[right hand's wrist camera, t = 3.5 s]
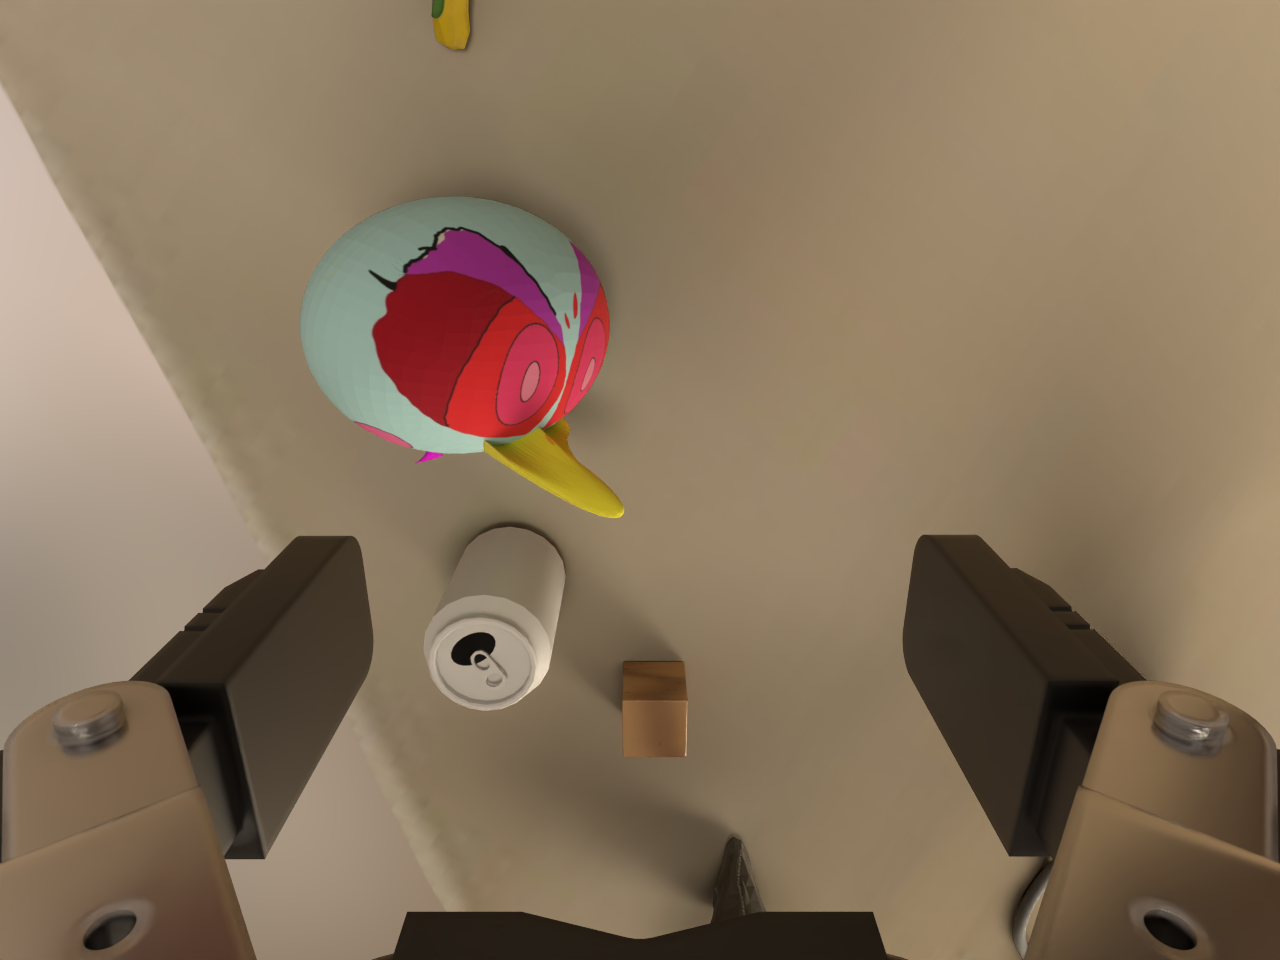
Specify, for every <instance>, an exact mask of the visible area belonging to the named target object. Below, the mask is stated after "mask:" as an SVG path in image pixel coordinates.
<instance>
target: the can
mask: <svg viewBox="0 0 1280 960" xmlns="http://www.w3.org/2000/svg"><path fill="white" fill-rule="evenodd" d="M565 579H566V575H565V570H564V564H563V561H562V559H561V558H560V556H559V554H558V552H557V551H556V549H555V548H554V547H553V546H552V545H551V544H550V543H549V542H548V541H547V540H546V539H545V538H543V537H542V536H540V535H538V534H536V533H534V532H532V531H529V530H527V529H521V528H515V527H504V528H496V529H492V530H490V531H487V532H485V533H483V534H481V535H479V536H478V537H476V538H475V539H474V540H473V541H472V542H471V543H470V544H469V545H468V546H467V547H466V549H465V551H464V553H463V555H462V557H461V559H460V561H459V563H458V565H457V567H456V570H455V572H454V574H453V576H452V578H451V580H450V582H449V584H448V586H447V588H446V590H445V592H444V595H443V597H442V599H441V601H440V603H439V605H438V607H437V609H436V611H435V613H434V615H433V617H432V619H431V622H430V624H429V626H428V628H427V630H426V632H425V639H424V649H423V650H424V653H425V657H426V661H427V664H428V667H429V670H430V674H431V677H432V679H433V681H434V682H435V684H436V685H437V687H438V688H439V690H440V691H441V692H442V693H443V694H445V695H446V696H447V697H448V698H450V699H451V700H452V701H453V702H456V703H458V704H460V705H463V706H465V707H467V708H471V709H478V710H484V711H487V710H496V709H503V708H505V707H507V706H510V705H512V704H515V703H517V702H518V701H519V700H521V699H522V698H523V697H524V696H525V695H527V694H528V693H529V692H531V691H532V690H533V689H534V688H535V687H537V686H538V685H539V684H540V683H541V681H542V679H543V678H544V676H545V674H546V673H547V671H548V669H549V664H550V659H551V654H552V649H553V643H554V638H555V633H556V627H557V622H558V617H559V612H560V606H561V601H562V596H563V590H564V584H565Z"/></svg>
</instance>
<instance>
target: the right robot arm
mask: <svg viewBox="0 0 1280 960" xmlns="http://www.w3.org/2000/svg"><path fill="white" fill-rule="evenodd" d="M903 652H904V659H905V663H906V667H907V670H908V673H909V675H910V677H911V679H912V681H913V682H914V684H915V686H916V688H917V690H918V691H919V693H920V695H921V697H922V699H923V701H924V702H925V704H926V706H927V708H928V710H929V711H930V713H931V715H932V717H933V719H934V721H935V722H936V724H937V726H938V728H939V730H940V731H941V733H942V735H943V737H944V739H945V741H946V742H947V744H948V746H949V748H950V750H951V751H952V753H953V755H954V757H955V759H956V760H957V762H958V764H959V766H960V768H961V770H962V771H963V773H964V775H965V777H966V779H967V780H968V782H969V784H970V786H971V788H972V790H973V791H974V793H975V795H976V797H977V799H978V800H979V802H980V804H981V806H982V808H983V810H984V811H985V813H986V815H987V817H988V819H989V820H990V822H991V824H992V826H993V828H994V829H995V831H996V833H997V835H998V837H999V839H1000V840H1001V842H1002V844H1003V846H1004V848H1005V849H1006V851H1007V853H1008V855H1009V856H1051V857H1052V858H1053V860H1054V864H1053V868H1052V871H1051V874H1050V877H1049V880H1048V883H1047V886H1046V890H1045V893H1044V896H1043V899H1042V902H1041V905H1040V909H1039V912H1038V915H1037V918H1036V921H1035V924H1034V927H1033V931H1032V934H1031V937H1030V940H1029V943H1028V946H1027V950H1026V953H1025V956H1024V959H1023V960H1280V750H1279V749H1276V744H1275V742H1274V740H1273V738H1272V737H1271V735H1270V734H1269V733H1268V732H1267V730H1266V729H1265V728H1264V727H1263V726H1262V725H1261V724H1260V723H1259V722H1257V721H1256V720H1255V719H1254V718H1252V717H1251V716H1250V715H1248V714H1247V713H1246V712H1244V711H1242V710H1241V709H1239V708H1237V707H1236V706H1234V705H1232V704H1230V703H1228V702H1226V701H1224V700H1222V699H1220V698H1218V697H1215V696H1213V695H1210V694H1208V693H1205V692H1202V691H1199V690H1196V689H1193V688H1190V687H1186V686H1182V685H1178V684H1173V683H1168V682H1159V681H1147V680H1146V679H1145V678H1144V677H1143V676H1141V675H1140V674H1139V673H1138V672H1137V671H1136V670H1135V669H1134V668H1133V667H1132V666H1131V665H1130V664H1129V663H1128V662H1127V661H1126V660H1125V659H1124V658H1123V657H1122V656H1121V655H1120V654H1119V653H1118V652H1117V651H1116V650H1115V649H1114V648H1113V647H1112V646H1111V645H1110V644H1109V643H1108V642H1107V641H1106V640H1105V639H1104V638H1103V637H1102V636H1101V635H1100V634H1098V633H1097V632H1096V631H1095V630H1090V625H1089V624H1088V623H1087V622H1086V621H1085V620H1084V619H1083V618H1082V617H1081V616H1080V615H1079V614H1078V613H1077V612H1072V607H1071V606H1070V605H1069V604H1068V603H1067V602H1066V601H1065V600H1064V599H1063V598H1062V597H1061V596H1060V595H1059V594H1058V593H1057V592H1055V591H1054V590H1053V589H1052V588H1051V587H1050V586H1049V585H1047V584H1045V583H1043V582H1041V581H1039V580H1038V579H1036V578H1034V577H1032V576H1030V575H1028V574H1027V573H1025V572H1023V571H1021V570H1019V569H1017V568H1010V567H1009V566H1008V565H1007V564H1006V563H1005V562H1004V561H1003V560H1002V559H1001V558H1000V557H999V556H998V555H997V554H996V553H995V552H994V551H993V550H992V549H991V548H990V547H989V546H988V545H987V543H986V542H985V541H984V540H983V539H982V538H981V537H979V536H978V535H922V536H921V537H920V538H919V540H918V541H917V544H916V547H915V550H914V556H913V563H912V571H911V578H910V585H909V592H908V599H907V606H906V613H905V621H904V628H903ZM372 653H373V629H372V622H371V615H370V608H369V601H368V594H367V587H366V580H365V573H364V566H363V559H362V553H361V549H360V545H359V543H358V541H357V539H356V538H355V537H353V536H298V537H296V538H295V539H294V540H293V541H292V542H291V543H290V544H289V545H288V546H287V547H286V548H285V549H284V550H283V551H282V552H281V553H280V554H279V555H278V556H277V557H276V558H275V559H274V560H273V561H272V562H271V563H270V564H269V565H268V566H267V567H266V568H265V569H264V570H257V571H255V572H253V573H251V574H249V575H247V576H245V577H244V578H242V579H240V580H238V581H236V582H234V583H232V584H231V585H229V586H227V587H225V588H224V589H223V590H222V591H221V592H220V593H219V594H218V595H217V596H216V597H215V598H214V599H212V600H211V601H210V602H209V603H208V604H207V605H206V606H205V607H204V608H203V613H198V614H197V615H196V616H195V617H194V618H193V619H192V620H191V621H190V622H189V623H188V624H187V625H186V626H185V630H184V631H179V632H178V633H177V634H176V635H175V636H174V637H173V638H172V639H171V640H170V641H169V642H168V643H167V644H166V645H165V646H164V647H163V648H162V649H161V650H160V651H159V652H158V653H157V654H156V655H155V656H154V657H153V658H152V659H151V660H149V661H148V662H147V663H146V664H145V665H144V666H143V667H142V668H141V669H140V670H139V671H138V672H137V673H136V674H135V675H134V676H133V677H132V678H131V679H130V680H129V681H121V682H112V683H107V684H102V685H98V686H94V687H90V688H87V689H84V690H81V691H78V692H75V693H72V694H70V695H67V696H65V697H62V698H60V699H58V700H56V701H54V702H52V703H50V704H48V705H46V706H44V707H43V708H41V709H39V710H38V711H36V712H34V713H33V714H32V715H30V716H29V717H28V718H26V719H25V720H24V721H23V722H21V723H20V724H19V725H18V726H17V727H16V728H15V729H14V730H13V732H12V733H11V734H10V735H9V737H8V738H7V740H6V742H5V744H4V749H3V750H1V751H0V960H257V959H256V956H255V953H254V950H253V946H252V943H251V940H250V937H249V934H248V931H247V927H246V924H245V921H244V918H243V915H242V912H241V909H240V905H239V902H238V899H237V896H236V893H235V890H234V886H233V883H232V880H231V877H230V874H229V871H228V868H227V864H226V861H225V859H265V858H266V856H267V854H268V852H269V850H270V849H271V847H272V845H273V843H274V841H275V840H276V838H277V836H278V834H279V832H280V831H281V829H282V827H283V825H284V823H285V822H286V820H287V818H288V816H289V814H290V813H291V811H292V809H293V807H294V805H295V804H296V802H297V800H298V798H299V797H300V795H301V793H302V791H303V789H304V788H305V786H306V784H307V782H308V780H309V779H310V777H311V775H312V773H313V771H314V770H315V768H316V766H317V764H318V762H319V761H320V759H321V757H322V755H323V753H324V752H325V750H326V748H327V746H328V745H329V743H330V741H331V739H332V737H333V736H334V734H335V732H336V730H337V728H338V727H339V725H340V723H341V721H342V719H343V718H344V716H345V714H346V712H347V710H348V709H349V707H350V705H351V703H352V701H353V700H354V698H355V696H356V694H357V693H358V691H359V689H360V687H361V685H362V684H363V682H364V680H365V678H366V676H367V674H368V671H369V668H370V665H371V660H372ZM373 960H907V959H904V958H901V957H898V956H894V955H890V954H886V952H885V949H884V945H883V942H882V939H881V936H880V933H879V930H878V927H877V924H876V921H875V917H874V914H873V912H756V913H752V914H748V915H743V916H739V917H735V918H731V919H727V920H723V921H719V922H715V923H711V924H707V925H703V926H699V927H694V928H690V929H686V930H682V931H678V932H674V933H670V934H666V935H662V936H658V937H654V938H648V939H632V938H626V937H622V936H618V935H614V934H610V933H606V932H602V931H598V930H594V929H590V928H586V927H581V926H577V925H573V924H569V923H565V922H561V921H557V920H553V919H549V918H545V917H541V916H537V915H532V914H528V913H524V912H407V914H406V917H405V921H404V924H403V927H402V930H401V933H400V936H399V939H398V943H397V945H396V949H395V952H394V954H390V955H386V956H383V957H379V958H376V959H373Z"/></svg>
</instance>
